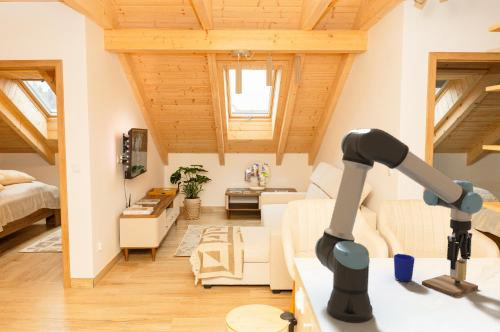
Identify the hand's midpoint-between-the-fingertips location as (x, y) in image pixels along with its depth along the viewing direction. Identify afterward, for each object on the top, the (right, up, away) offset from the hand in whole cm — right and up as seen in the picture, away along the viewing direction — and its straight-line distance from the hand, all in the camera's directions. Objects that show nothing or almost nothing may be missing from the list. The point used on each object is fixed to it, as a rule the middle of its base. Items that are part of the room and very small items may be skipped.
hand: (458, 275), depth 154 cm
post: (0, -3, 0) cm, 3 cm away
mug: (-19, -4, +10) cm, 22 cm away
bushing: (0, -1, 0) cm, 1 cm away
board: (-3, -5, +1) cm, 6 cm away
